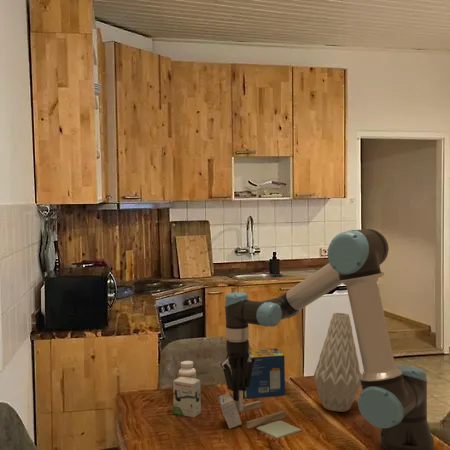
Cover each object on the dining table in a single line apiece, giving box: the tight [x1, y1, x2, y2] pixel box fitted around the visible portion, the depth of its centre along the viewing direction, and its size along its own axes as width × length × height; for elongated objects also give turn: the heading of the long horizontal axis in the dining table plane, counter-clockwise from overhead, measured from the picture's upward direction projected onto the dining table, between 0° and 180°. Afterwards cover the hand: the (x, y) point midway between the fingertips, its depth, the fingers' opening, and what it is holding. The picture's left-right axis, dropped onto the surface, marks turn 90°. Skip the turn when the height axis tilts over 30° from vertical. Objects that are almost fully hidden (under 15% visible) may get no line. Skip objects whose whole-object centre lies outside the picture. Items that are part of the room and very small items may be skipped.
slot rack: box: [221, 400, 287, 430], centre depth 197 cm, size 14×16×2 cm
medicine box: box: [217, 392, 242, 429], centre depth 190 cm, size 8×4×9 cm, turn 9°
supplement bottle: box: [178, 360, 197, 379], centre depth 220 cm, size 7×7×13 cm
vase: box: [313, 312, 363, 413], centre depth 203 cm, size 17×17×33 cm
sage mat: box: [256, 419, 302, 440], centre depth 185 cm, size 10×10×1 cm
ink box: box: [172, 376, 202, 418], centre depth 202 cm, size 9×5×12 cm, turn 62°
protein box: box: [244, 348, 286, 399], centre depth 222 cm, size 10×15×16 cm
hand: (239, 409), depth 194 cm, fingers closed
